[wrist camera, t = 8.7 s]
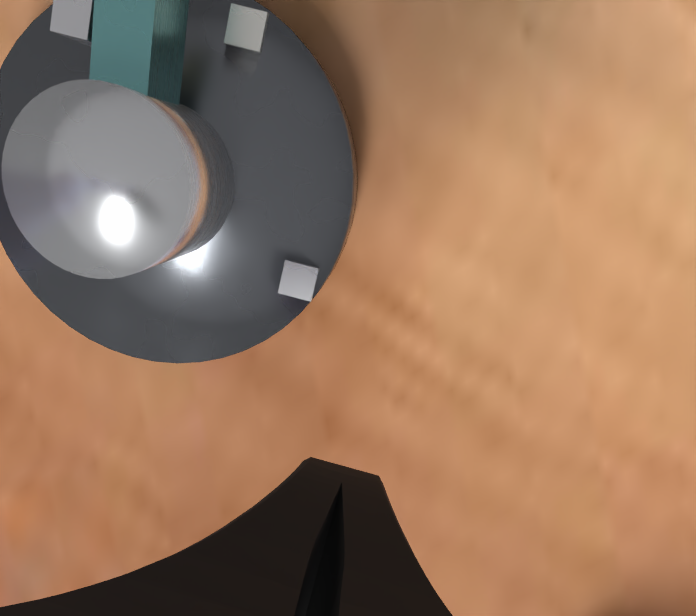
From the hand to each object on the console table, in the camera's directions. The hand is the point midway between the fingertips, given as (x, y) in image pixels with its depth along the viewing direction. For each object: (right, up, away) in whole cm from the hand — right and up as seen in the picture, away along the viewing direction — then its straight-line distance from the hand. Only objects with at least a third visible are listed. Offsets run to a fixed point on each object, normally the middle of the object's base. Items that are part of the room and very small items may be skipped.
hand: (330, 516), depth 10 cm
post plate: (-5, +8, +8) cm, 12 cm away
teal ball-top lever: (-5, +10, +6) cm, 13 cm away
